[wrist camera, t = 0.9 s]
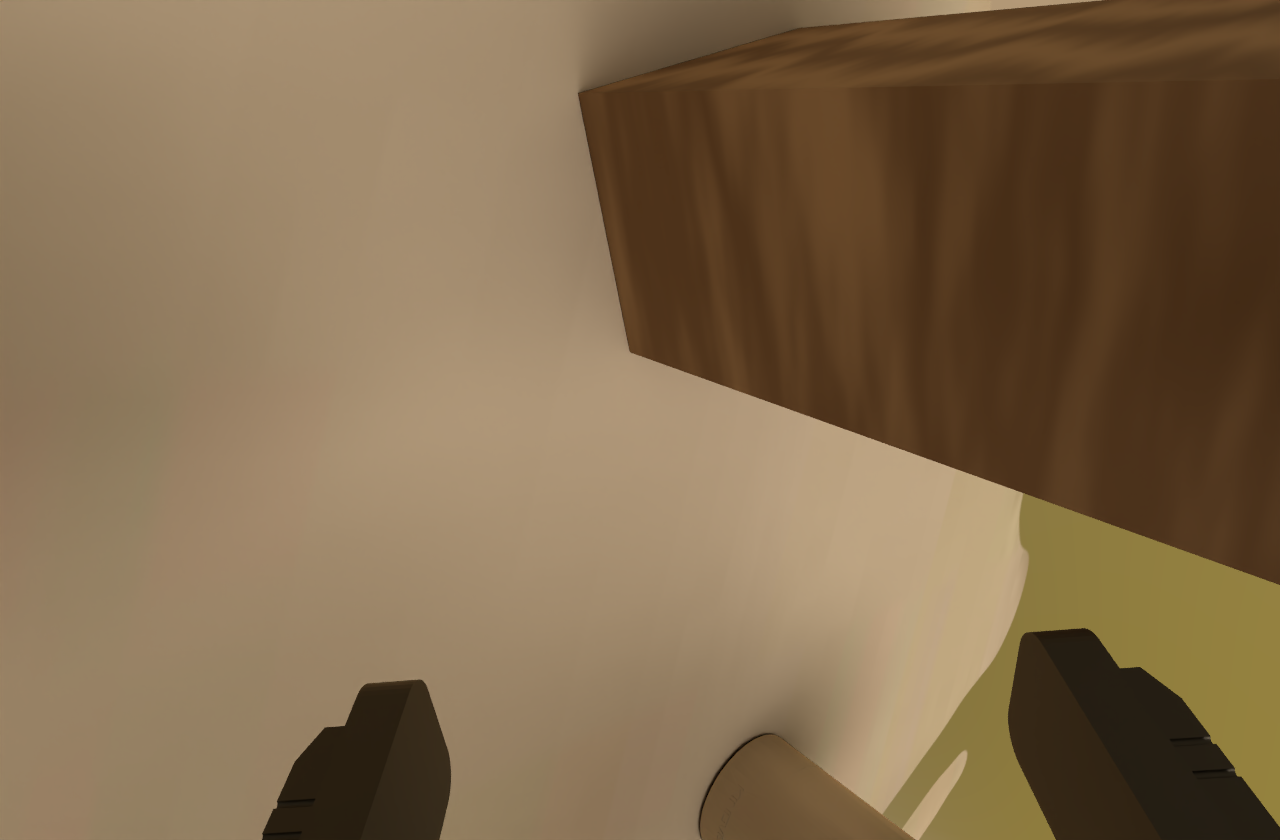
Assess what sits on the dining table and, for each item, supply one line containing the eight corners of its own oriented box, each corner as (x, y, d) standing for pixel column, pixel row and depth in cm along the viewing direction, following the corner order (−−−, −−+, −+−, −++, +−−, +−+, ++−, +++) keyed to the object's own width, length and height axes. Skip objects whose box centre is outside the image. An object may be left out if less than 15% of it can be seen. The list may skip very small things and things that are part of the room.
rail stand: (630, 352, 39) (1706, 738, 15) (578, 93, 33) (2224, 58, 9) (814, 256, 45) (1749, 417, 22) (798, 28, 39) (2058, -87, 16)
